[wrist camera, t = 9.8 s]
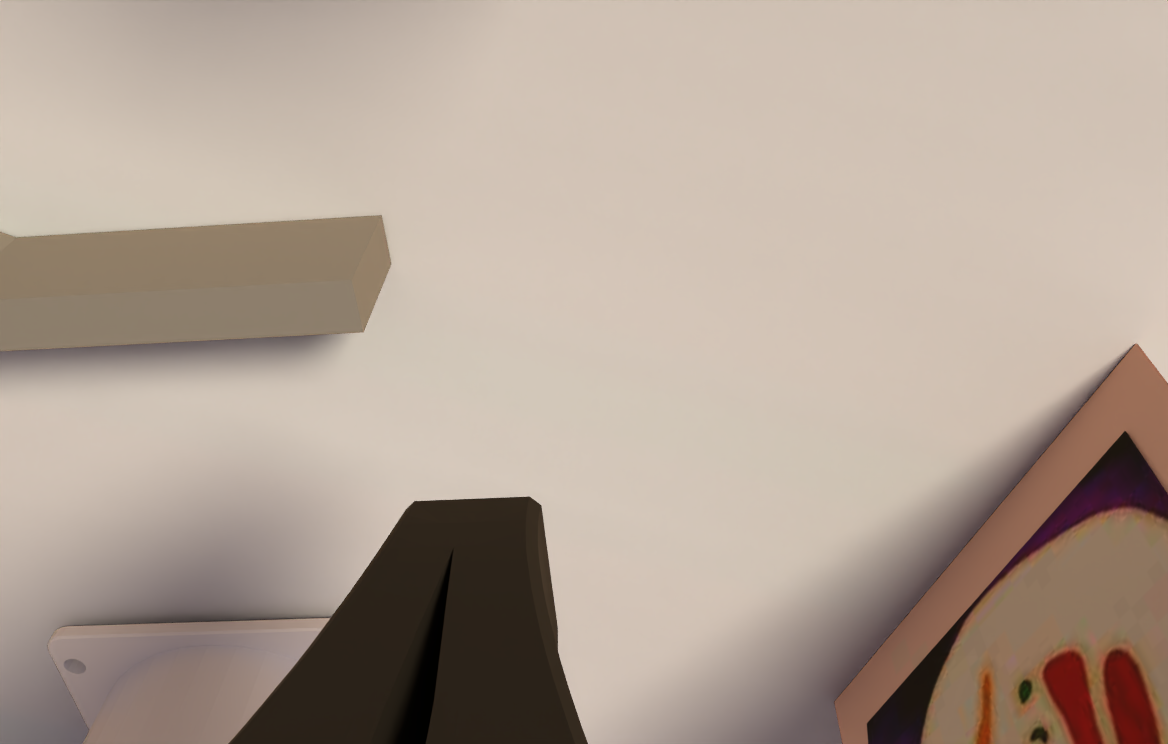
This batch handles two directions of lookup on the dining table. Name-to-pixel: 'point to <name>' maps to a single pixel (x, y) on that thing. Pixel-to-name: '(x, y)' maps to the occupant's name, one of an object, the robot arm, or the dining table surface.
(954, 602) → the greeting card
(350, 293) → the keyhole track
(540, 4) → the dining table surface
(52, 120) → the dining table surface
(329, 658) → the robot arm
